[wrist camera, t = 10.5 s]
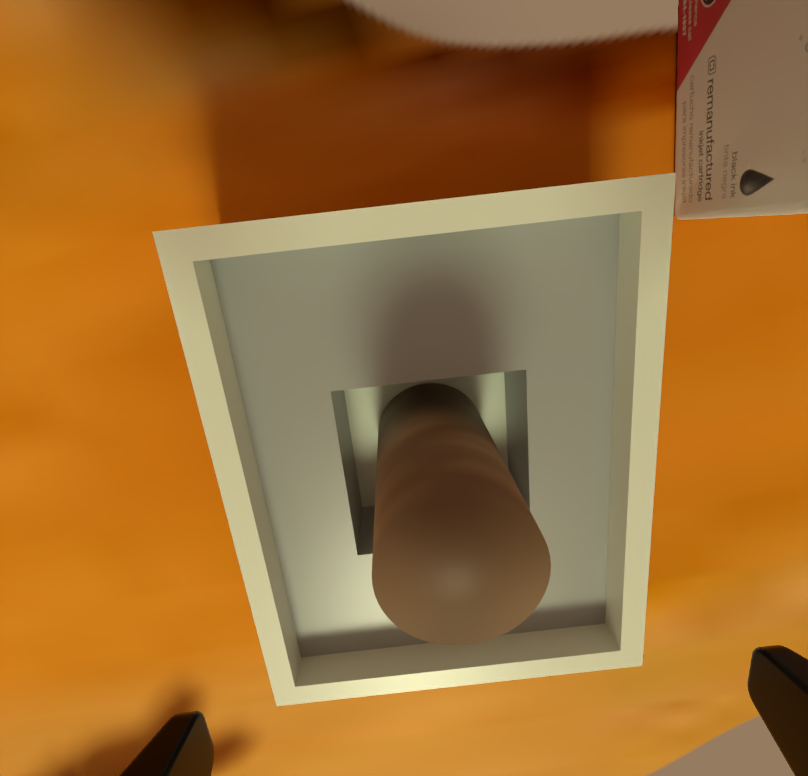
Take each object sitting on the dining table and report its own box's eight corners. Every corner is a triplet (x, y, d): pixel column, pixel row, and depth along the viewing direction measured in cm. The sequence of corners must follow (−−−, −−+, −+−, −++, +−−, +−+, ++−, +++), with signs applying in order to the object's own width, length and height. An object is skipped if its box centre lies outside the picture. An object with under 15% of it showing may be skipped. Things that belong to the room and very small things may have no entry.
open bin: (591, 191, 16) (676, 172, 11) (584, 569, 21) (642, 665, 16) (221, 233, 16) (152, 231, 11) (301, 600, 21) (276, 706, 16)
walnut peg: (478, 377, 17) (550, 486, 10) (484, 472, 19) (551, 635, 11) (372, 389, 17) (360, 507, 10) (384, 483, 19) (382, 654, 11)
